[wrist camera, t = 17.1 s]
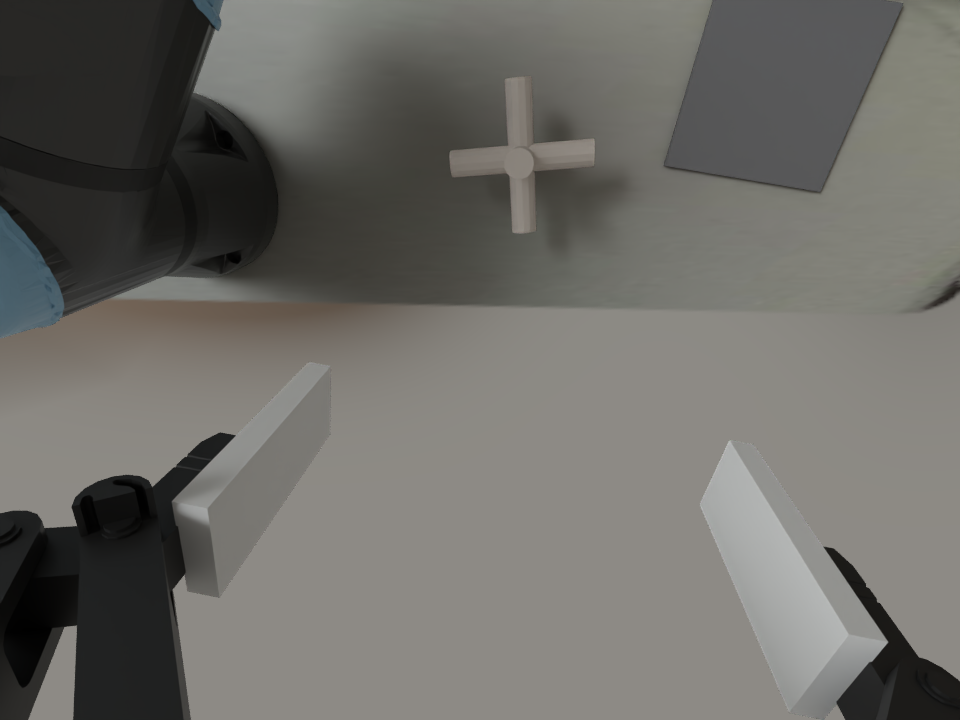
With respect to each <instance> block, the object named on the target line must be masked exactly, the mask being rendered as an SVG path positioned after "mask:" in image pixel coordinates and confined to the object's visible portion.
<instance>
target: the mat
mask: <svg viewBox="0 0 960 720" xmlns="http://www.w3.org/2000/svg"><path fill="white" fill-rule="evenodd" d="M902 6H903V3H899V2H893V1H886V0H713V2H712V5H711V9H710V12H709V15H708V19H707V22H706V26H705V29H704V32H703V36H702V39H701V42H700V46H699V49H698V52H697V56H696V59H695V62H694V66H693V69H692V73H691V76H690V79H689V83H688V86H687V89H686V93H685V96H684V99H683V103H682V106H681V109H680V113H679V116H678V120H677V123H676V126H675V130H674V133H673V136H672V140H671V143H670V146H669V150H668V153H667V156H666V160H665V163H664V166H669V167H675V168H681V169H687V170H693V171H699V172H705V173H711V174H717V175H722V176H728V177H734V178H740V179H746V180H752V181H758V182H764V183H770V184H776V185H782V186H788V187H794V188H800V189H805V190H811V191H817V192H820V191H821V189H822V187H823V184H824V182H825V180H826V177H827V175H828V173H829V171H830V168H831V166H832V164H833V162H834V159H835V157H836V155H837V153H838V150H839V148H840V146H841V144H842V141H843V139H844V137H845V135H846V132H847V130H848V128H849V126H850V123H851V121H852V119H853V116H854V114H855V112H856V110H857V107H858V105H859V103H860V101H861V98H862V96H863V94H864V92H865V89H866V87H867V85H868V83H869V80H870V78H871V76H872V74H873V71H874V69H875V67H876V65H877V62H878V60H879V58H880V55H881V53H882V51H883V49H884V46H885V44H886V42H887V40H888V37H889V35H890V33H891V31H892V28H893V26H894V24H895V22H896V19H897V17H898V15H899V13H900V10H901V8H902Z"/></svg>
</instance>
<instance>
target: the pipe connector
mask: <svg viewBox="0 0 960 720" xmlns="http://www.w3.org/2000/svg"><path fill="white" fill-rule="evenodd" d="M505 98H506V118H507V138H508V146H497V147H485V148H474V149H462V150H451V151H450V156H449V159H450V170H451V174H452V177H453V178H454V177H467V176H480V175H493V174H506V173H507V174H508V175H509V177H510V196H511V216H512V232H513V233H530V232H534V231H536V196H535V171H545V170H558V169H571V168H584V167H593V166H594V161H595V142H594V138H592V139H580V140H568V141H556V142H544V143H534V130H533V96H532V77H531V76H523V77H513V78H507V79H505Z"/></svg>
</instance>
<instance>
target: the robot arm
mask: <svg viewBox="0 0 960 720" xmlns="http://www.w3.org/2000/svg"><path fill="white" fill-rule="evenodd" d="M222 3H223V0H0V338H3V337H7V336H10V335H13V334H16V333H20V332H23V331H27V330H30V329H33V328H37V327H47V326H50V325H53V324H55V323H56V322H57V321H59V319H60V318H62V317H65V316H67V315H69V314H72V313H74V312H77V311H79V310H81V309H84V308H86V307H89V306H92V305H94V304H97V303H99V302H101V301H104V300H106V299H109V298H111V297H114V296H116V295H119V294H121V293H124V292H126V291H129V290H131V289H134V288H136V287H139V286H141V285H144V284H146V283H149V282H151V281H154V280H156V279H158V278H161V277H163V276H171V277H194V278H209V277H216V276H221V275H225V274H228V273H230V272H232V271H235V270H237V269H239V268H241V267H243V266H245V265H247V264H249V263H251V262H252V261H253V260H255V259H256V258H257V257H258V256H259V255H260V254H261V253H262V252H263V251H264V249H265V248H266V246H267V245H268V243H269V241H270V239H271V237H272V235H273V232H274V229H275V225H276V221H277V213H278V199H277V190H276V185H275V181H274V177H273V174H272V171H271V168H270V165H269V163H268V161H267V159H266V156H265V154H264V153H263V151H262V149H261V147H260V146H259V144H258V143H257V141H256V140H255V138H254V137H253V135H252V134H251V133H250V132H249V131H248V129H247V128H246V127H245V126H244V125H243V124H242V123H241V122H240V121H239V120H238V119H237V118H236V117H235V116H234V115H233V114H231V113H230V112H229V111H228V110H226V109H225V108H223V107H222V106H220V105H219V104H217V103H215V102H214V101H212V100H210V99H208V98H206V97H203V96H201V95H198V94H195V93H193V91H194V88H195V85H196V82H197V80H198V77H199V74H200V71H201V68H202V65H203V62H204V60H205V57H206V54H207V51H208V48H209V45H210V43H211V40H212V37H213V34H214V31H215V29H216V30H217V31H219V29H220V27H221V19H220V17H219V14H220V10H221V7H222ZM330 408H331V366H327V365H322V364H317V363H311V362H308V363H307V364H306V365H305V366H304V367H303V368H302V369H301V370H300V371H299V372H298V373H297V374H296V375H295V376H294V377H293V378H292V379H291V380H290V381H289V382H288V383H287V384H286V385H285V386H284V387H283V388H282V389H281V390H280V392H279V393H277V395H276V396H275V397H274V398H273V399H272V400H271V401H270V402H269V403H268V404H267V405H266V406H265V407H264V408H263V409H262V410H261V411H260V412H259V413H258V414H257V415H256V416H255V417H254V418H253V419H252V420H251V421H250V422H249V423H248V424H247V425H246V426H245V427H244V428H243V429H242V430H241V431H240V432H239V433H238V434H237V435H231V434H225V433H218V434H216V435H214V436H212V437H210V438H208V439H206V440H204V441H202V442H201V443H199V445H197V446H196V447H195V448H194V449H193V450H192V451H191V452H190V453H189V454H188V456H187V457H185V458H183V459H182V460H181V461H180V462H179V463H178V464H177V466H176V468H175V467H174V468H173V469H172V470H171V471H169V472H168V473H167V474H166V475H165V476H164V477H163V478H162V479H161V480H160V481H159V482H158V483H157V484H155V485H154V486H153V487H152V486H151V484H150V482H149V481H148V480H147V479H145V478H142V477H140V476H133V475H123V476H114V477H110V478H108V479H104V480H101V481H98V482H96V483H94V484H93V485H91V486H89V487H87V488H85V489H84V490H83V491H82V492H81V493H80V494H79V495H78V496H76V497H75V499H74V502H73V505H72V510H73V513H74V516H75V520H76V523H77V526H73V527H57V528H44V526H43V523H42V520H41V519H40V518H39V516H38V515H37V514H35V513H32V512H29V511H10V512H5V513H0V720H28V718H29V716H30V713H31V711H32V708H33V705H34V703H35V700H36V698H37V695H38V693H39V690H40V688H41V685H42V683H43V680H44V678H45V675H46V672H47V670H48V667H49V665H50V662H51V659H52V657H53V655H54V652H55V649H56V647H57V644H58V642H59V639H60V636H61V634H62V632H63V629H64V627H67V626H76V625H77V643H76V666H75V691H74V717H73V720H191V718H190V711H189V704H188V696H187V689H186V681H185V674H184V667H183V659H182V652H181V645H180V637H179V630H178V623H177V616H176V608H175V601H174V594H173V588H174V587H175V586H176V585H177V583H178V582H179V581H180V580H181V578H182V577H183V576H184V574H185V579H186V585H187V591H189V592H194V593H199V594H204V595H209V596H213V597H218V598H219V597H220V596H221V595H222V593H223V592H224V590H225V589H226V587H227V586H228V584H229V583H230V582H231V580H232V579H233V577H234V576H235V574H236V573H237V571H238V570H239V568H240V567H241V565H242V564H243V562H244V561H245V559H246V558H247V556H248V555H249V554H250V552H251V551H252V549H253V547H254V546H255V545H256V543H257V542H258V540H259V539H260V537H261V536H262V534H263V533H264V531H265V530H266V528H267V527H268V525H269V524H270V523H271V521H272V520H273V518H274V517H275V515H276V514H277V512H278V511H279V509H280V508H281V506H282V505H283V503H284V502H285V500H286V499H287V497H288V496H289V495H290V493H291V492H292V490H293V489H294V487H295V486H296V484H297V483H298V481H299V480H300V478H301V477H302V475H303V474H304V472H305V471H306V469H307V468H308V466H309V465H310V463H311V462H312V460H313V459H314V458H315V456H316V455H317V453H318V452H319V450H320V449H321V447H322V446H323V444H324V443H325V441H326V440H327V438H328V437H329V435H330ZM700 507H701V509H702V511H703V514H704V516H705V519H706V521H707V523H708V526H709V528H710V530H711V533H712V535H713V537H714V540H715V542H716V544H717V546H718V549H719V551H720V554H721V556H722V558H723V561H724V563H725V565H726V568H727V570H728V572H729V574H730V577H731V579H732V581H733V584H734V586H735V588H736V591H737V593H738V595H739V598H740V600H741V602H742V605H743V607H744V609H745V612H746V614H747V616H748V619H749V621H750V623H751V626H752V628H753V630H754V632H755V635H756V637H757V640H758V642H759V644H760V647H761V649H762V651H763V654H764V656H765V658H766V661H767V663H768V665H769V668H770V670H771V672H772V674H773V677H774V679H775V682H776V684H777V686H778V688H779V691H780V693H781V696H782V698H783V700H784V702H785V705H786V707H787V709H788V712H789V713H792V714H797V715H802V716H807V717H812V718H817V719H822V720H824V719H825V718H826V716H827V715H828V714H829V713H830V711H831V710H832V709H833V708H834V707H835V705H836V704H837V705H838V706H839V708H840V710H841V712H842V714H843V716H844V718H845V720H960V681H959V680H958V679H956V678H955V677H954V676H952V675H951V674H950V673H948V672H947V671H946V670H944V669H943V668H942V667H940V666H938V665H936V664H934V663H932V662H930V661H928V660H926V659H923V658H919V657H918V656H917V654H916V653H915V651H914V650H913V649H912V647H911V646H910V645H909V643H908V642H907V640H906V639H905V638H904V636H903V635H902V633H901V632H900V631H899V629H898V628H897V626H896V625H895V624H894V622H893V621H892V619H891V618H890V617H889V615H888V614H887V612H886V611H885V610H884V608H883V607H882V605H881V604H880V603H877V599H876V597H875V596H874V595H873V593H872V592H871V590H870V589H869V588H867V587H866V583H865V582H864V581H863V579H862V578H861V576H860V575H859V574H858V572H857V571H856V570H855V568H854V567H853V565H851V564H850V563H849V562H848V561H847V560H846V559H845V558H844V557H842V556H841V555H840V554H839V553H838V552H837V551H836V550H835V549H833V548H828V547H823V546H822V544H821V543H820V541H819V540H818V539H817V537H816V536H815V534H814V533H813V531H812V530H811V528H810V527H809V525H808V524H807V522H806V521H805V519H804V518H803V516H802V515H801V514H800V512H799V511H798V509H797V508H796V506H795V505H794V503H793V502H792V500H791V499H790V498H789V496H788V495H787V493H786V492H785V490H784V489H783V487H782V486H781V484H780V483H779V481H778V480H777V478H776V477H775V475H774V474H773V473H772V471H771V470H770V468H769V467H768V465H767V464H766V462H765V461H764V459H763V458H762V456H761V455H760V453H759V452H758V451H757V449H756V448H755V446H754V445H753V444H747V443H742V442H737V441H732V440H729V442H728V445H727V447H726V449H725V451H724V453H723V455H722V457H721V460H720V462H719V464H718V466H717V468H716V470H715V472H714V475H713V477H712V479H711V481H710V483H709V485H708V488H707V490H706V492H705V494H704V496H703V498H702V500H701V503H700Z"/></svg>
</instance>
